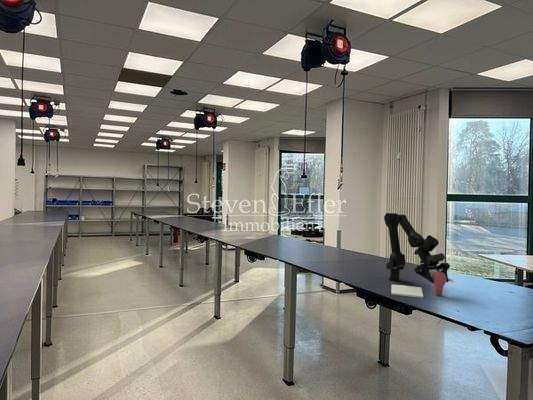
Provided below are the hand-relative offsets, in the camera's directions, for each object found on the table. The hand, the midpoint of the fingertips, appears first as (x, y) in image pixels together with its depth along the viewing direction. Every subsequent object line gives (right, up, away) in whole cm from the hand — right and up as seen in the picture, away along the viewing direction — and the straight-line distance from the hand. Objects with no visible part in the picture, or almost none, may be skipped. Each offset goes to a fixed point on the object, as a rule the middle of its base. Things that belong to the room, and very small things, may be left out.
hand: (440, 282), depth 197 cm
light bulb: (-1, -7, +1) cm, 7 cm away
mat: (-15, -6, +7) cm, 17 cm away
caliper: (+17, -7, +41) cm, 45 cm away
